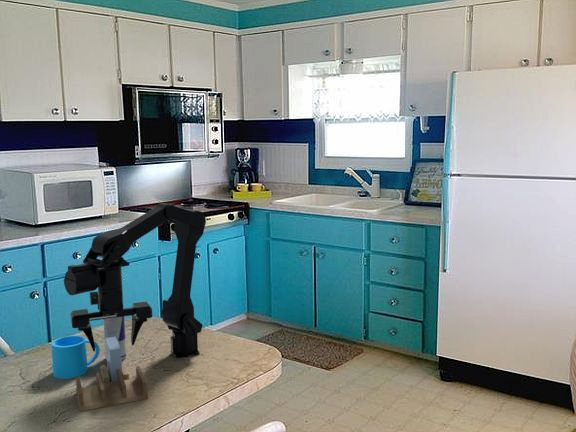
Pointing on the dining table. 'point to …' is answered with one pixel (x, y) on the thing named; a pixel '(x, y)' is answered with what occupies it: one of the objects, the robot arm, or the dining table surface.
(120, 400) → the rack
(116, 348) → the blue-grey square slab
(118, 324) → the energy drink
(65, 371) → the mug
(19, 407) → the dining table surface
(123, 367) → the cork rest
